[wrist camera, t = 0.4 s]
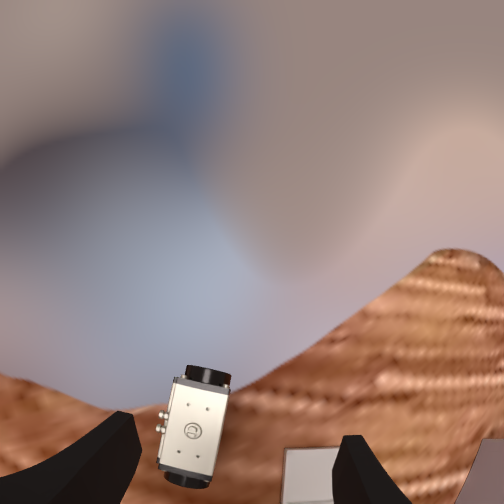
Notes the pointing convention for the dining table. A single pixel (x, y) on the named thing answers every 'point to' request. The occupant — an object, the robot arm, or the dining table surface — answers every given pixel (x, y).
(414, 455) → the dining table surface
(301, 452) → the tray
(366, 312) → the dining table surface
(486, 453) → the game console
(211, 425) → the pneumatic valve
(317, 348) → the dining table surface
